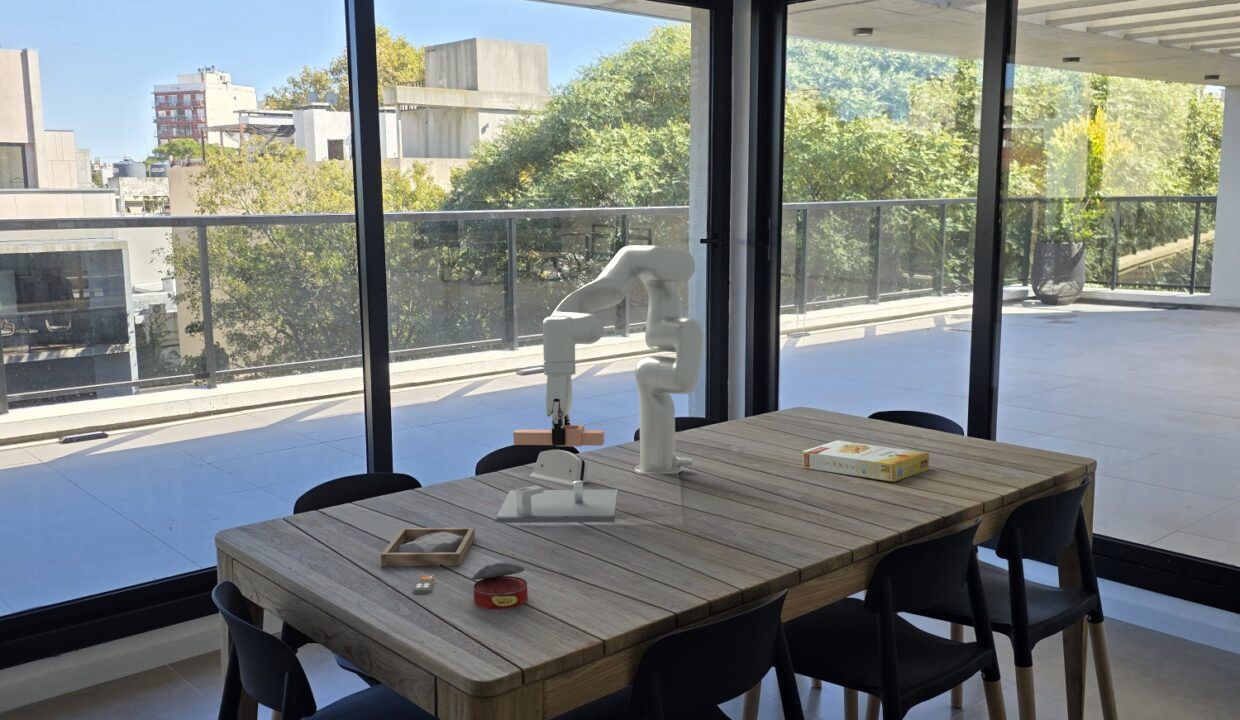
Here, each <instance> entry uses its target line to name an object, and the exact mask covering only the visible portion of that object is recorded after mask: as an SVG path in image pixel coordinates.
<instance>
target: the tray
mask: <svg viewBox="0 0 1240 720" xmlns="http://www.w3.org/2000/svg"><path fill="white" fill-rule="evenodd" d="M475 531H476V529H475V527H414V528H413V527H402V528H401V529H400V530H398V532H397V534H396V535H395V536H394V537H393V538H392V540H391V541H390V542H389V543H388V545H386V548H384V550H383V551H382V552H381V553H380V561H381V562H380V563H381V567H441V566H440V565H443V566H442V567H460V566H461V565H462V563H463V561H464V559H465V558H466V556H467V554H468V553H469V551H470V549H471V548H472V545H473V544H474V542H475V540H474V539H476V535H475V534H476V533H475ZM439 532H447V533H452V534H455V535H458V536H462V537H463V541H462V542H461V544H460V546H459V547H458V549H457V551H456V552H436V553H399V550H400V549H399V548H400V545H402V544H403V543H404V544H405V542H406V541H405V540H416V539H417V538H419V537H422V536H425V535H427V534H431V533H439ZM404 541H405V542H404ZM397 551H398V552H397ZM427 565H428V566H427ZM429 565H430V566H429ZM432 565H433V566H432Z"/></svg>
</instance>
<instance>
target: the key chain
mask: <svg viewBox="0 0 1240 720" xmlns="http://www.w3.org/2000/svg"><path fill="white" fill-rule="evenodd" d="M431 575H432V574H431ZM431 575H429V576H422V577H421V579H420V580H418V581H417V582H416V584H415V586H414V587H413V590H412V593H413V594H414V595H424V594H425V595H426V594H431V593H432V592H433V591H432V590H433V581H432V580H434V579H435V578H434V576H433V575H434V574H433V575H432V576H433V577H432V576H431Z"/></svg>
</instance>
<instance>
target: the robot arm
mask: <svg viewBox="0 0 1240 720" xmlns="http://www.w3.org/2000/svg"><path fill="white" fill-rule="evenodd" d="M695 271H696V262H695V258H694V256H693V255H692V254H691V253H690V252H689V251H687V250H686V249H680V248H674V247H667V246H661V245H650V244H649V245H646V244H645V245H644V244H641V245H640V244H639V245H636V244H633V245H632V244H631V245H625V246H624V247H621V248H620V249H619V250H618V251H617V253H616V254H615V255H614V257H612V259H611V260H610V262H609V263H607V265H606V266H605V268H604V269H603V270H602V272H600V274H599V275H598V277H596V278H595V279H594V280H593V281H591V282H589V283H587V284H585V285H583V286H582V287H580V288H578V289H576V290H575V291H573V292H571V293H570V294H569V295H567V296H566V297H565V298H564V299H562V301H561V302H560V303H559V304H558V305H557V307H555V309H554V310H553V312H552V314H551V315H550V316H547V317H545V318H544V319H543V322H542V338H543V340H542V343H543V344H542V345H543V346H542V347H543V349H542V350H543V374H544V375H545V376H547V378H546V391H545V392H546V395H545V398H546V399H545V404H546V405H545V416H547V417H551V416H552V417H551V430H552V445H551V446H556V445H565V444H566V434H565V428H564V425H571V418H570V412H572V409H573V387H572V386H573V384H572V383H573V382H572V376H573V375H575V374H576V345H592V344H595V343H597V342H598V341H599V340H600V339H601V338H602V336H603V335H604V331H605V327H604V326H605V325H604V323H603V321H602V319H601V318H600V317H599V316H598V315H595V314H593V312H596V311H600V310H604V309H607V308H611V307H613V306H616V305H619V304H620V303H621V302H623V301H624V299H625V298H626V296H627V295H628V294H629V293H630V291H631V290H632V289H633V287H634V286H635V285H636V283H637V282H638V281H639V280H641V281H642V283H643V284H644V286H645V289H646V291H647V294H648V305H647V316H646V325H645V334H644V335H645V337H644V339H645V343H646V346H647V347H648V348H649V349H650V350H653V351H659V352H666V353H667V352H668V353H675V354H676V355H675V357H673V356H672V357H671V356H665V355H664V356H662V355H649V356H645V357H642V358H641V359H640V360H639V361H638V362H637V363H636V366H635V369H634V375H635V376H634V377H635V384H636V388H637V393H638V394H637V395H638V401H639V403H638V407H639V462H640V463H639V464H637V465H635V467H634V472H635V473H636V474H637V475H643V474H644V475H652V474H653V475H658V474H659V475H660V474H663V475H664V474H665V475H666V474H670V475H671V474H677V473H678V474H679V472H680V473H681V472H682V466H686V467H687V466H689V467H690V466H693V458H688V457H679V456H677V452H676V416H675V415H676V411H675V409H676V408H675V404H674V400H673V397H672V396H671V395H670V394H674V395H675V394H677V395H689V394H691V393H692V392H693V391H695V389H696V388H697V385H698V382H699V378H700V367H701V360H702V351H703V342H704V341H703V340H704V338H703V337H704V336H703V335H704V334H703V330H702V327H701V324H700V323H699V321H697V320H696V319H694V318H693V317H688V316H685V317H684V316H680V309H681V296H680V292H679V289H678V288H677V287H676V285H675V283H685V282H687V281H689V280H691V278H692V277H693V275H694V273H695Z"/></svg>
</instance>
